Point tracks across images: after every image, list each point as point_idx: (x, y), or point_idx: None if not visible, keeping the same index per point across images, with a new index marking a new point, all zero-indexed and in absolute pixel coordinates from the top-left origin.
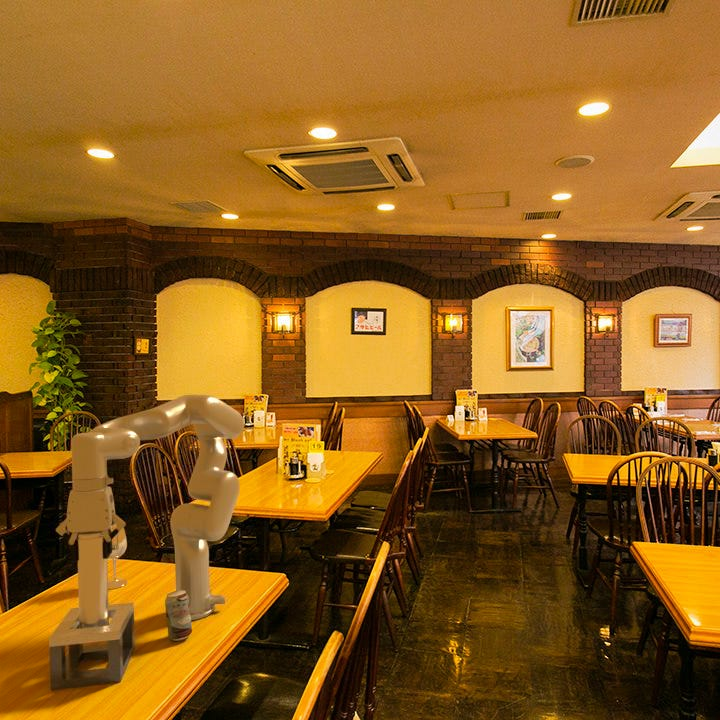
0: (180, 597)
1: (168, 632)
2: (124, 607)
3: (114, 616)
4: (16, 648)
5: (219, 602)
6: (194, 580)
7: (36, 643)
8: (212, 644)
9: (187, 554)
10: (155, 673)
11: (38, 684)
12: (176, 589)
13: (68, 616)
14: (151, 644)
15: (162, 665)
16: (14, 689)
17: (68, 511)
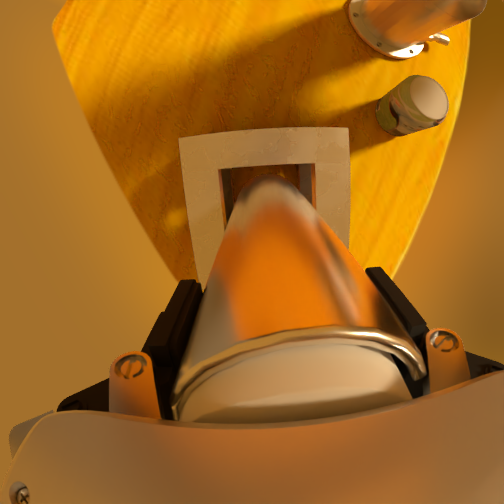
0: (440, 120)
1: (381, 121)
2: (332, 155)
3: (319, 206)
4: (98, 115)
5: (439, 42)
6: (437, 29)
7: (121, 97)
8: (438, 155)
9: (463, 6)
10: (370, 224)
11: (187, 227)
12: (383, 9)
13: (192, 187)
14: (346, 123)
15: (377, 202)
16: (158, 236)
17: None
